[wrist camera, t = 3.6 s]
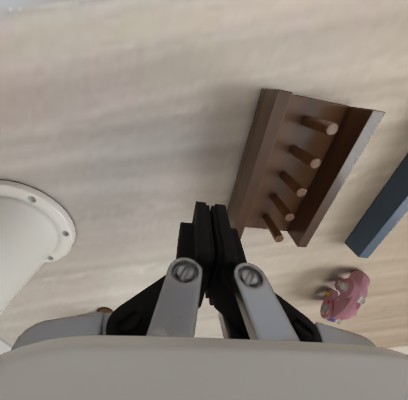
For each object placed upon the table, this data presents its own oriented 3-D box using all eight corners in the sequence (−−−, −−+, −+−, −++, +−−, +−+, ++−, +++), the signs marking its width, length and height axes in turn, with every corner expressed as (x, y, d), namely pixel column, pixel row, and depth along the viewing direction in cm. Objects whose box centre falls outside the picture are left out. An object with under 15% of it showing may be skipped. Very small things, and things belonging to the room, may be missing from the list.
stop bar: (344, 242, 31) (358, 257, 28) (443, 104, 21) (478, 107, 18) (353, 243, 31) (367, 258, 28) (454, 107, 21) (491, 110, 18)
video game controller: (342, 259, 35) (352, 288, 29) (369, 271, 34) (386, 304, 28) (312, 292, 40) (316, 324, 34) (336, 304, 39) (344, 338, 33)
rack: (224, 219, 27) (232, 248, 22) (261, 88, 19) (285, 89, 14) (291, 226, 28) (311, 255, 24) (351, 107, 20) (399, 114, 16)
